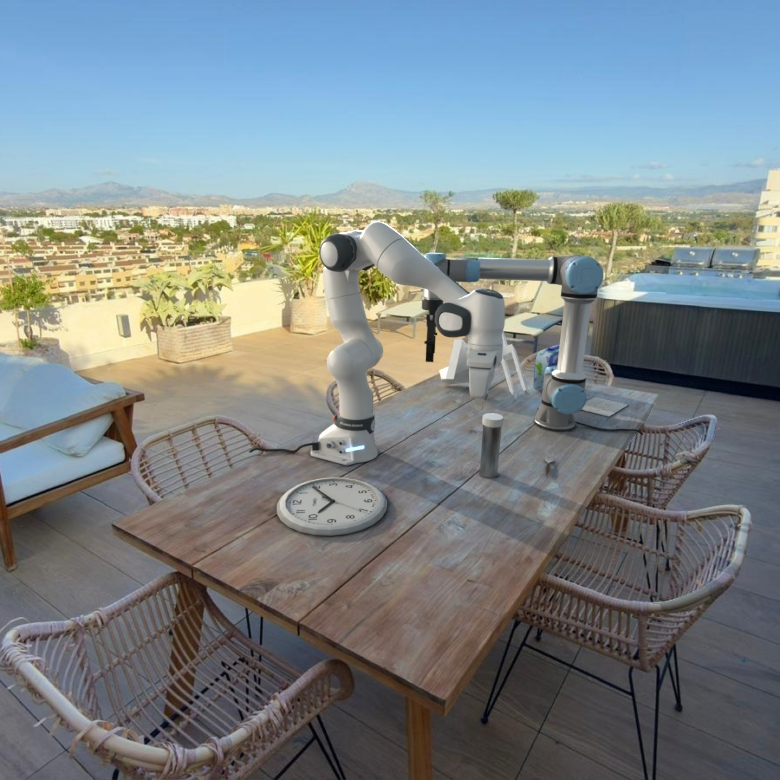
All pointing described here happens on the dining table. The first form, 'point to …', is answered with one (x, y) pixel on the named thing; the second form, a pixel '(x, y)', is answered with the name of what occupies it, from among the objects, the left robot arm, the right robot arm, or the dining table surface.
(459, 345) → the white plastic object
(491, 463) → the jar
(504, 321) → the left robot arm
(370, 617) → the dining table surface
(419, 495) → the dining table surface
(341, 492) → the wall clock
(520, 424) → the dining table surface
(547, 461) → the fork
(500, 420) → the lid
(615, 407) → the invitation card
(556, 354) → the lunch box
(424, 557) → the dining table surface
